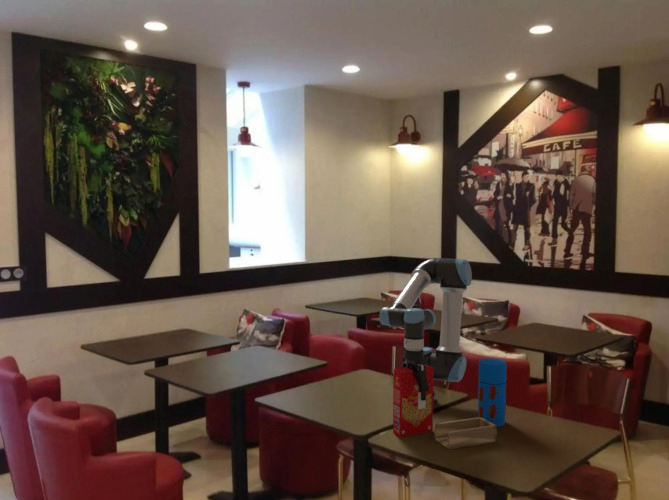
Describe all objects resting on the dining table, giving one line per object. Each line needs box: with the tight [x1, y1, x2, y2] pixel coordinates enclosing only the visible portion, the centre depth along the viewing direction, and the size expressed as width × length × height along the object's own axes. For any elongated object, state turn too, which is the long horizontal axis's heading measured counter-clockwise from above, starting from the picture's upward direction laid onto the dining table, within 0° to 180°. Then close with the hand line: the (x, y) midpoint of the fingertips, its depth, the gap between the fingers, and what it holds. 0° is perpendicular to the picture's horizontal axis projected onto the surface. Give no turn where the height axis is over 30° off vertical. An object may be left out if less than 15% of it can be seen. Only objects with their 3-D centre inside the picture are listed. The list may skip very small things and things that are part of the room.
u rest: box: [433, 416, 498, 450], centre depth 227 cm, size 10×20×6 cm, turn 111°
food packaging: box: [392, 365, 434, 438], centre depth 236 cm, size 15×5×25 cm, turn 115°
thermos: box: [477, 357, 507, 427], centre depth 246 cm, size 11×11×25 cm
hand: (413, 403), depth 236 cm, fingers open, 13 cm apart
